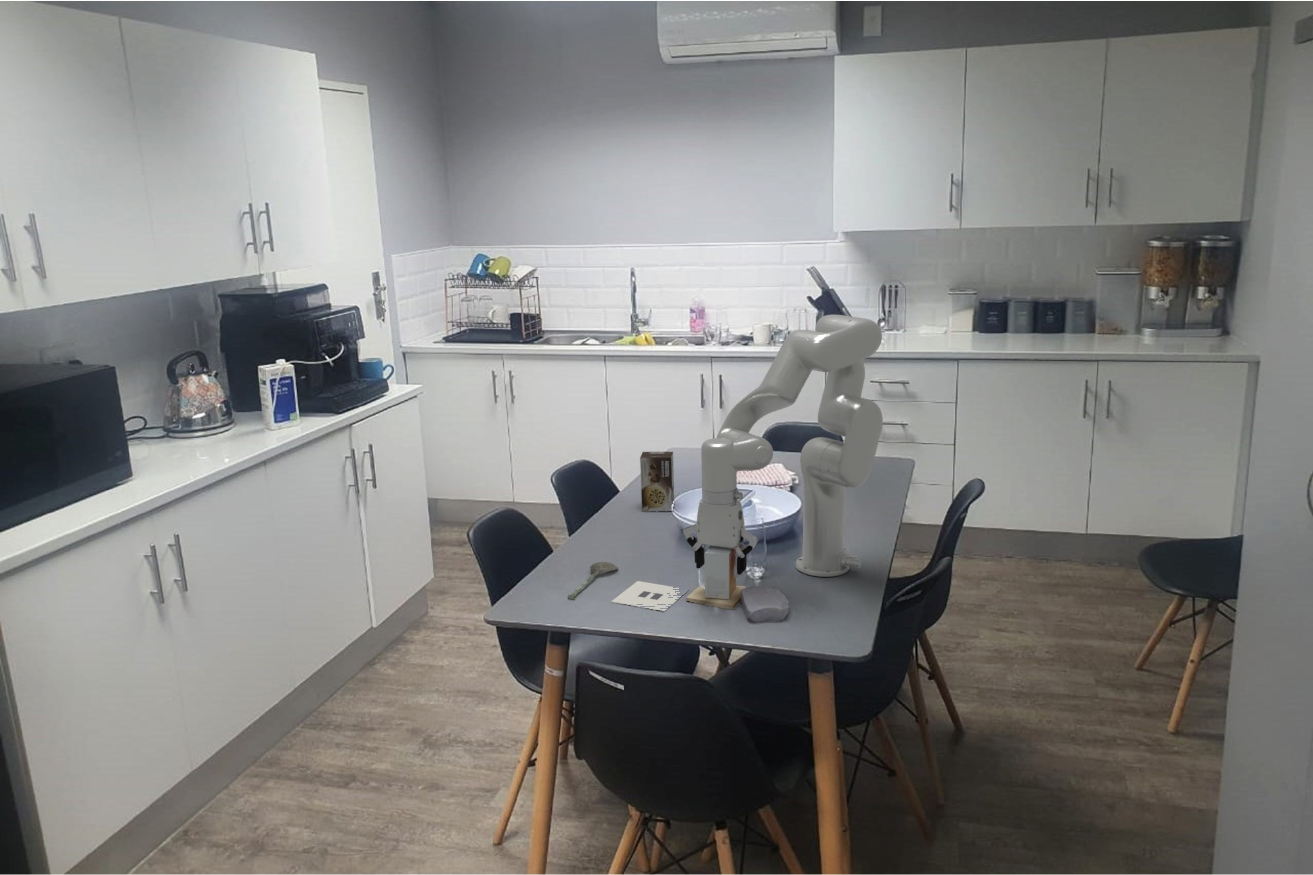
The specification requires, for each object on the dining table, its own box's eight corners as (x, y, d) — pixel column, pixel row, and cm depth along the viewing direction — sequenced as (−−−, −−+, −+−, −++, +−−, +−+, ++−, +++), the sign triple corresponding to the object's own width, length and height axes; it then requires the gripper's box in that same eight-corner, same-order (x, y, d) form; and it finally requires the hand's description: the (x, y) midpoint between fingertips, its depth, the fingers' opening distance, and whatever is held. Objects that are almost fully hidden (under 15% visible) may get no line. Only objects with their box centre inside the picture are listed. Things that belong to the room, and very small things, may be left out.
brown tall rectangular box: (674, 505, 284) (674, 451, 280) (673, 512, 278) (672, 457, 274) (643, 504, 285) (642, 450, 281) (640, 511, 279) (639, 456, 275)
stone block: (779, 607, 218) (736, 600, 217) (784, 587, 217) (740, 581, 215) (790, 632, 206) (744, 625, 205) (796, 611, 205) (749, 604, 204)
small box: (729, 600, 214) (729, 554, 212) (704, 598, 216) (704, 552, 213) (736, 586, 222) (736, 542, 219) (712, 584, 223) (712, 540, 221)
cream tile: (689, 590, 223) (689, 589, 223) (664, 612, 211) (664, 611, 211) (637, 581, 228) (637, 580, 228) (611, 602, 217) (611, 601, 217)
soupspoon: (623, 571, 238) (598, 569, 240) (622, 558, 237) (597, 556, 239) (583, 602, 218) (557, 600, 220) (583, 588, 217) (556, 585, 219)
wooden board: (750, 591, 221) (750, 587, 221) (732, 609, 212) (732, 605, 212) (705, 584, 226) (705, 579, 226) (686, 601, 217) (686, 597, 216)
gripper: (763, 494, 213) (763, 568, 217) (689, 486, 220) (691, 558, 225) (750, 505, 207) (751, 581, 211) (676, 496, 214) (677, 569, 218)
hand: (720, 569), depth 218 cm, fingers open, 9 cm apart
